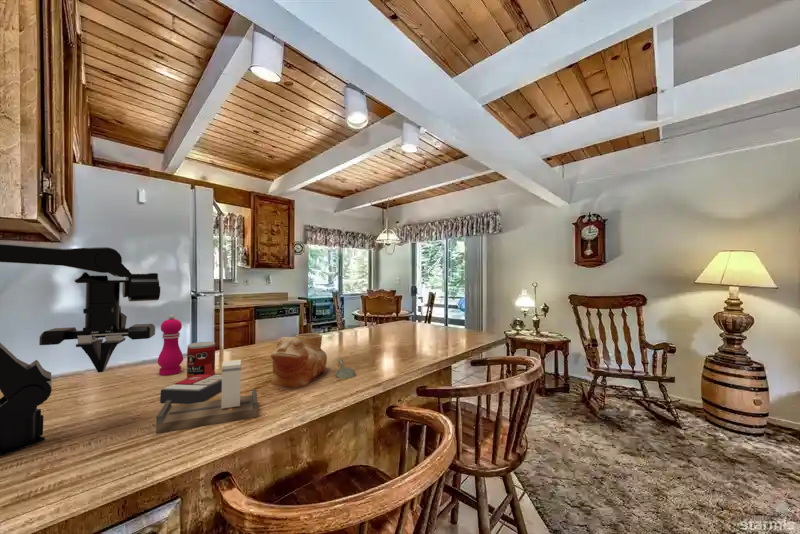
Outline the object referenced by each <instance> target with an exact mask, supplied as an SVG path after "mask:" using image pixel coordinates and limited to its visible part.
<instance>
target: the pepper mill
mask: <svg viewBox="0 0 800 534" xmlns="http://www.w3.org/2000/svg"><path fill="white" fill-rule="evenodd" d="M182 325H183V324H182V321H180V320H179V319H176V318H175V314H170V315H168V319H165V320H164V321H163V322H162V323H161V325H160V331H161V332H162V339H163V345H162V349H161V351H160V353H159V355H158V358H157V364H158V366H159V367H160V368H159V370H158V371H159V372H158V374H159V375H160V376H172V375H177V374H179V373H181V372H182V365H181V364H182V363H183V362H184V355H183V352H182V350H181V348H180V345H179V337H180V336H181V335H180V334H181V333H180V331H181V330H182V328H183V326H182Z"/></svg>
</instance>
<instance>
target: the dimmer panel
mask: <svg viewBox="0 0 800 534" xmlns="http://www.w3.org/2000/svg"><path fill="white" fill-rule="evenodd" d="M258 403H259V402H258V392H257V388H254V389H253V388H252V389H251V394H250V395H243V396H240V406H237V407H230V408H223V409H221V399H213V400H205V401H203V402H198V403H191V404H176V405H172V403H171V400H167V401H166V402H165V403H163V406H162V407H161V409H160V410H159V412H158V414H157V416H156V417H155V418H156V421H155V422H156V423H155V424H156V425H155V434H161V433H167V432H173V431H179V430H185V429H191V428H197V427H202V426H204V427H205V426H211V425H216V424H222V423H228V422H234V421H240V420H246V419H252V418H253V419H254V418H257V417H258Z"/></svg>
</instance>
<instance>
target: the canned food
mask: <svg viewBox="0 0 800 534" xmlns="http://www.w3.org/2000/svg"><path fill="white" fill-rule="evenodd" d="M215 369H216V342H214V341H198V342H193V343H189V344H187V350H186V379H188V378H190V377H193V376H196V375H199V374H201V375H215V373H216V370H215Z"/></svg>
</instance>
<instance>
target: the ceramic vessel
mask: <svg viewBox="0 0 800 534" xmlns="http://www.w3.org/2000/svg"><path fill="white" fill-rule="evenodd" d="M322 339H323V335H322V334H320V333H314V332H313V333H301V334H296V335H295V336H282V337H280V338H279V339H278V340H277V343H276V346H275V349H274V350H273V352H272V353H270V358H271V359H272V377H271V381H270V384H271V385H273V386H278V387H279V386H280V387H291V388H292V387H295V388H299V387H306V386H308V385H309V383H311V382H312V381H314V380H315V379H316V378H318V377H319V376H322V375H323V374H324V373H325V370H326V366H327V363H328V362H327V361H328V360H327V359H328V356H327V353H326V351H324V350H323V349H322V348H321V347H322Z"/></svg>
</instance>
